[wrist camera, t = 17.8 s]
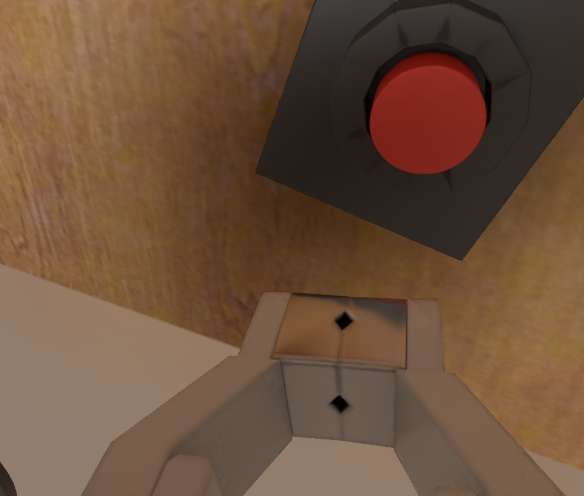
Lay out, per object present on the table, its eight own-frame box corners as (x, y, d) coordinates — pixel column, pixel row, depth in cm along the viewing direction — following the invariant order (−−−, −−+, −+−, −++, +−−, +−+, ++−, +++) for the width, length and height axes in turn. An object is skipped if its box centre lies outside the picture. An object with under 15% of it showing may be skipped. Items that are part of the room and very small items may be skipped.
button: (446, 169, 18) (448, 191, 17) (357, 130, 18) (351, 149, 17) (503, 78, 16) (511, 94, 15) (402, 33, 16) (401, 45, 15)
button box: (458, 235, 24) (464, 287, 21) (266, 152, 24) (242, 192, 20) (647, -32, 17) (701, -16, 14) (376, -155, 16) (365, -169, 13)
